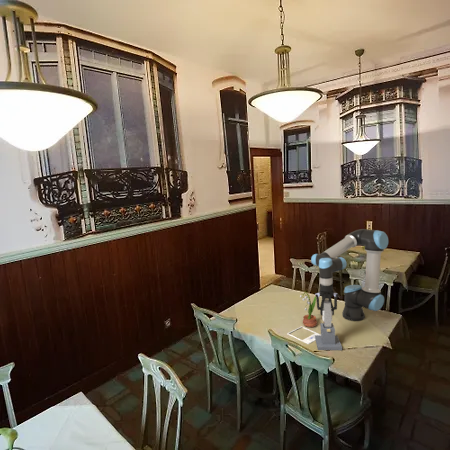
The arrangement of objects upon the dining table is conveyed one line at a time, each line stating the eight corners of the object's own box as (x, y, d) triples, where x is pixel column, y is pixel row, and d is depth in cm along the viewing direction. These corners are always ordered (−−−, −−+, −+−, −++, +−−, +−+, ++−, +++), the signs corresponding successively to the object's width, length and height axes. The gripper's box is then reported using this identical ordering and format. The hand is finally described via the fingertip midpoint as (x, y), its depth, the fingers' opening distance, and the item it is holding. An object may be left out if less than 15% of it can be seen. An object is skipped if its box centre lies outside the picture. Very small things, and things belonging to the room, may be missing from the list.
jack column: (330, 336, 200) (329, 299, 196) (331, 340, 196) (330, 301, 192) (323, 336, 201) (322, 299, 197) (324, 340, 197) (323, 301, 193)
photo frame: (308, 343, 200) (287, 333, 215) (308, 345, 201) (287, 334, 215) (323, 335, 209) (301, 325, 223) (323, 336, 209) (301, 327, 223)
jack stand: (337, 338, 205) (337, 320, 203) (342, 350, 191) (341, 331, 189) (315, 338, 207) (314, 320, 205) (317, 350, 193) (317, 331, 192)
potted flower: (304, 330, 219) (303, 295, 215) (297, 323, 228) (296, 290, 224) (320, 326, 222) (319, 292, 218) (312, 320, 231) (311, 287, 227)
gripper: (339, 281, 195) (340, 317, 199) (310, 281, 198) (312, 317, 202) (342, 285, 188) (343, 322, 192) (312, 286, 191) (313, 322, 194)
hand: (327, 319), depth 197 cm, fingers closed on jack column, 4 cm apart
